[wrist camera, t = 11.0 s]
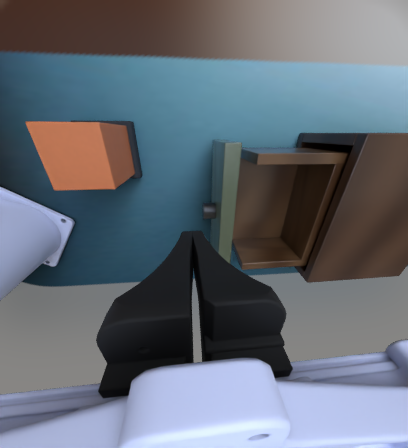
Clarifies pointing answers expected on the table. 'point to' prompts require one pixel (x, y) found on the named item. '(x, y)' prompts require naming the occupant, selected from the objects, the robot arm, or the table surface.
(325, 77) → the table surface
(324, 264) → the cabinet
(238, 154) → the drawer
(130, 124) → the coaster
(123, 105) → the table surface
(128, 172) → the block
